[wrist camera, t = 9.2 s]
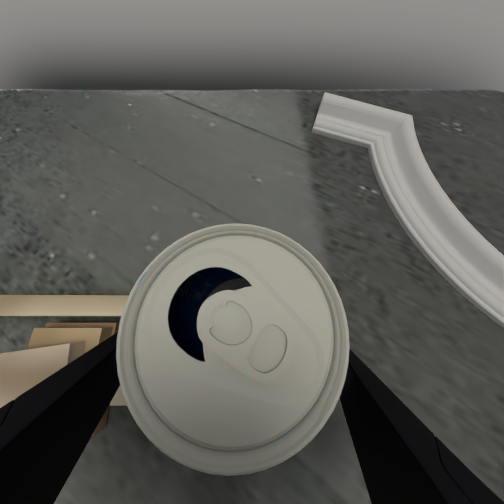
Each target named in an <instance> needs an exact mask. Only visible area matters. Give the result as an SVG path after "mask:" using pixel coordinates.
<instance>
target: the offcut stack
mask: <svg viewBox="0 0 504 504" xmlns="http://www.w3.org/2000/svg"><path fill="white" fill-rule="evenodd" d="M119 323H120V322H54V323H46V325H45V327H42V328H34V330H33V333H32V336H31V339H30V342H29V345H28V348H27V350H21V351H14V352H8V353H1V354H0V408H1V407H3V406H4V405H6V404H7V403H9V402H10V401H12V400H15V399H16V398H17V397H18V396H20V395H21V394H23V393H24V392H26V391H27V390H29V389H30V388H32V387H33V386H35V385H37V384H38V383H40V382H41V381H43V380H44V379H46V378H47V377H49V376H50V375H52V374H54V373H55V372H57V371H58V370H60V369H61V368H63V367H64V366H66V365H67V364H69V363H70V362H72V361H74V360H75V359H77V358H78V357H80V356H81V355H83V354H84V353H86V352H87V351H89V350H90V349H92V348H94V347H95V346H97V345H98V344H100V343H101V342H103V341H104V340H106V339H107V338H109V337H110V336H112V335H114V334H115V333H117V332H118V329H119ZM109 405H110V404H109ZM108 411H109V406H108V408H107V410H106V411H105V413H104V415H103V417H102V418H101V420H100V422H99V424H98V426H97V427H96V429H95V431H94V433H93V434H92V436H94V435H95V434H96V433H98V432H99V431H100V430H101V429H103V428H104V427H105V426H106V421H107V416H108Z"/></svg>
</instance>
